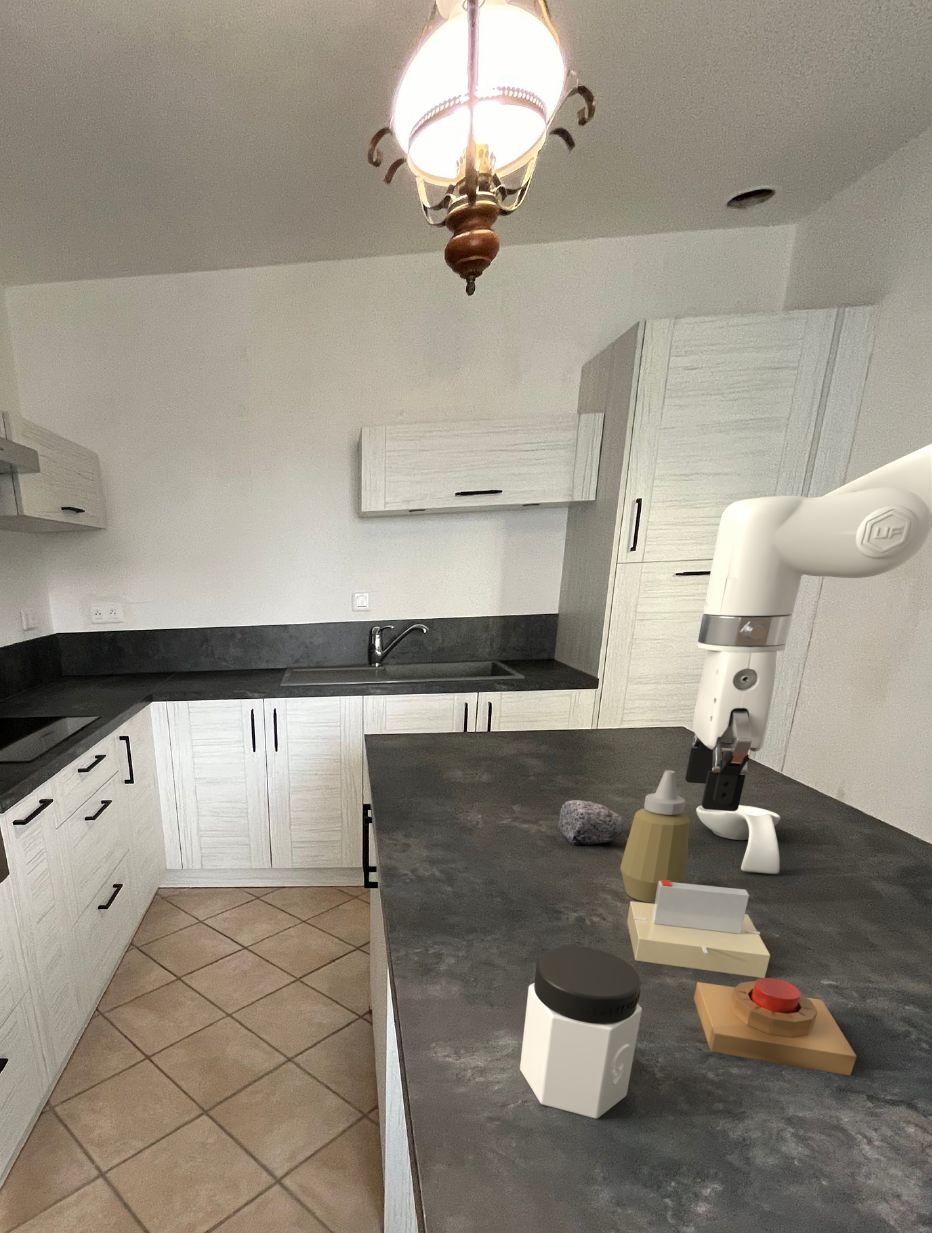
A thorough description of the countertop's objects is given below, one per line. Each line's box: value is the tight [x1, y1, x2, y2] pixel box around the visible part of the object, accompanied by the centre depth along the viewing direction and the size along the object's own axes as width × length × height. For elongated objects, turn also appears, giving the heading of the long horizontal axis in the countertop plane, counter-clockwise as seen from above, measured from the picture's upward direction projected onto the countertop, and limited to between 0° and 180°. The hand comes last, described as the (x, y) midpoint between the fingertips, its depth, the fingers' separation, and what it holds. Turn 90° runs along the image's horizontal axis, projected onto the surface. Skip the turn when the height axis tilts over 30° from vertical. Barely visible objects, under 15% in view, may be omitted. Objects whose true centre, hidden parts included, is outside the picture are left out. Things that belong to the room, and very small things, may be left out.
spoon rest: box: [695, 804, 781, 875], centre depth 109 cm, size 24×12×7 cm, turn 160°
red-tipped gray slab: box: [652, 880, 750, 934], centre depth 80 cm, size 9×2×5 cm, turn 70°
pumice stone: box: [557, 799, 625, 846], centre depth 113 cm, size 10×8×10 cm
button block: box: [693, 980, 857, 1076], centre depth 66 cm, size 11×9×4 cm
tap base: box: [626, 900, 771, 979], centre depth 82 cm, size 13×13×3 cm
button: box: [751, 977, 802, 1014], centre depth 65 cm, size 4×4×2 cm
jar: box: [519, 945, 643, 1120], centre depth 60 cm, size 9×8×12 cm
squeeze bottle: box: [619, 769, 691, 904], centre depth 92 cm, size 8×8×18 cm
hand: (709, 795), depth 75 cm, fingers open, 9 cm apart
